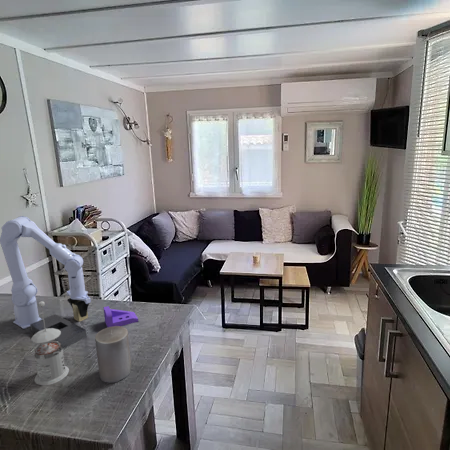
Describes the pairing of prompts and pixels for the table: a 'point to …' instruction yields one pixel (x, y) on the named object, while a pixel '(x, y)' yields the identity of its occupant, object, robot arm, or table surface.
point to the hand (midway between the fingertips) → (80, 314)
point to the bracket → (118, 317)
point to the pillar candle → (113, 354)
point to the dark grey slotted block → (61, 329)
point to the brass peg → (78, 313)
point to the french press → (48, 355)
